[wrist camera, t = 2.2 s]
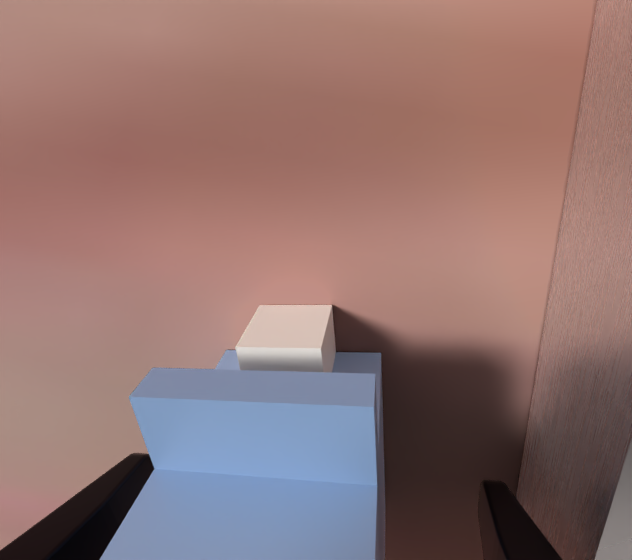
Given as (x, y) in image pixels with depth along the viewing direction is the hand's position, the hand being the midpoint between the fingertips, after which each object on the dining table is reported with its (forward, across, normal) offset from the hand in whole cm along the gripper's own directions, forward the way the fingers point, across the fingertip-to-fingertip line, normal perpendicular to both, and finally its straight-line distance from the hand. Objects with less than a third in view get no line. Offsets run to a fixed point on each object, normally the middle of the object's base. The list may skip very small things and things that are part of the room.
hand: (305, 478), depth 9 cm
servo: (+1, 0, 0) cm, 1 cm away
